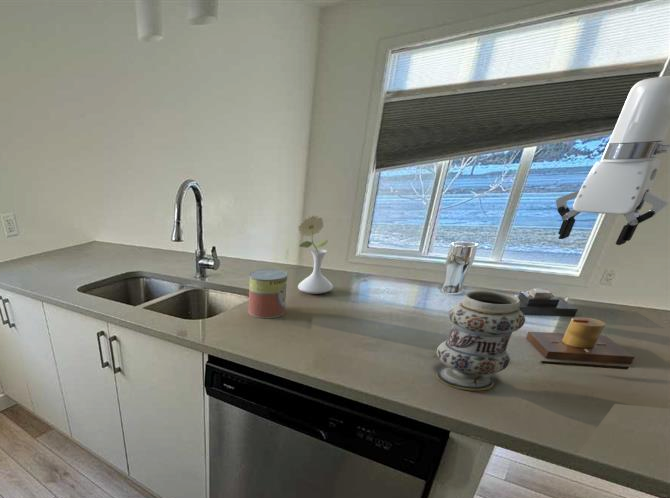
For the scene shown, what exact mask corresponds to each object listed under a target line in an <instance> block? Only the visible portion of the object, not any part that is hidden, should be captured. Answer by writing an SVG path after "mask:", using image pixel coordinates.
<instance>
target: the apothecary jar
mask: <svg viewBox="0 0 670 498" xmlns="http://www.w3.org/2000/svg"><path fill="white" fill-rule="evenodd" d="M515 296H516V295H512V294H509V293H503V292H499V291H491V290H474V291H473V290H472V291H469V292H467V293H466V294H465V295H464V298H463V300H462V301H460V302H458V303H456V304H455V305H453V306H452V307H451V308H450V310H449V311H448V318H449V320H450V322H452V326H451V329H450V332H449V335H448V337H447V339H446V340H445V341H443V342H441V343H440V344H439V345H438V347H437V348H436V356H437V358H438V359H439V361H440V362H441V363H442V364H443V365H444V366H446V367H443V368H440V369H439V370H438V371H436V375H435V376H436V378H437V379H438V380H439V381H440V382H441V383H443V384H444V385H447V386H449V387H452V388H455V389H458V390H462V391H463V390H464V391H470V392H481V391H482V392H483V391H487V390H490V389H492V388H493V387H494V384H495V383H494V380H493V379H492V378H491V376H489V375H493V374H497V373H499V372H502V371H503V370H505V369H506V368H507V367H508V366H509V365H510V363H511V356H510V354H509V352H508V351H507V347H508V344H509V342H510V339H511V337H512V334H513V333H514V332H516V331H519V330H520V329H521V328H522V327H523V326H524V325H525V323H526V317H525V316H526V315H524V314H523V313H522V312H521V311H520V307H519V306H520V300H519V299H518V298H517V297H515Z"/></svg>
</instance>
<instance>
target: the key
mask: <svg viewBox="0 0 670 498" xmlns="http://www.w3.org/2000/svg"><path fill="white" fill-rule="evenodd" d="M528 292H529V295H530V296H532V297H533V298H550V297H551V295H553V292H552V291H550V290H549V289H548V288H530V290H529V291H528Z"/></svg>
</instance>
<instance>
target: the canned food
mask: <svg viewBox="0 0 670 498" xmlns="http://www.w3.org/2000/svg"><path fill="white" fill-rule="evenodd" d="M288 276H289V274H288V272H287V271H285V270H281V269H275V268H274V269H271V268H270V269H269V268H267V269H266V268H265V269H259V270H255V271H252V272H250V273H249V283H248V284H249V285H248V286H249V288H248V292H249V293H248V311H247V312H248V315H250V316H252V317H253V318H258V319H275V318H279V317H282V316H283V315H285V313H286V298H287V287H288V284H287V283H288Z"/></svg>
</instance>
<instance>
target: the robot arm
mask: <svg viewBox="0 0 670 498" xmlns="http://www.w3.org/2000/svg"><path fill="white" fill-rule="evenodd" d="M669 129H670V75H665V76H664V75H662V76H657V77H649V78H644V79H641V80H639V81H638V82H636V83H635V84H634V85H633V86H632V87H631V88H630V91H629V93H628V95H627V98H626V100H625V102H624V105H623V107H622V109H621V111H620V114H619V117H618V118H617V121H616V123H615V127H614V129H613V131H612V132H611V133H612V134H611V136H610V138H609V140H608V143H607V144H606V147H605V150H604V152H603V155H602V157H601V159H600V160H597V161H595V163H594V165H593V166H592V168H591V169H590V171H589V172H588V174H587V176H586V178H585V179H584V181H583V183H582V185H581V187H580V189H579V190H576V191H574V192H571V193H568V194H565V195H563V196H560V197H558V198H556V199H555V203H556V208H557V213H558V214H559V215H560V217H561V220H562V223H561V225H560V227H559V230H558V233H557V234H558V235H559V236H558V239H559V240H563V239H566V238H569V237H570V235H571V232H572V230H573V227H574V226H575V223H576V218H575V217H576V216H578V215H580V214H581V213H584V214H585V213H586V214H601V215H602V214H603V215H620V216H621V215H622V216H624V217H625V219H626V221H627V223H626V224H623V227H622V228H621V231H620V233H619V235H618V237H617V240H616V241H615V245H617V246H622V245H624V244H626V243H627V242H629V241H630V240H632V238H633V236H634V234H635V232H636V229H637V228H638V226H639V224H641V223H643V222H645V221H647V220H649V219H651V218H653V217H655V216H656V215H657V214H659V213H660V212H662V210H663V209H665V208H666V207H667V206H669V203H670V202H669V201H668V200H666V199H663V198H662V197H660V196H659V195H657V194H655V193H653V192H651V191H652V187H653V185H654V182H655V180H656V177H657V174H658V171H659V166H660V163H661V162H660V161H661V159H659V158H658V159H657V158H656V157H658V155H661V154H666V153H669V151H670V144H666V143H664V142H665V141H664V140H665V138H666V135H667V133H668V132H669ZM570 200H574V202H573V204H572V209H570V208H569V207H568V206H567V202H568V201H570ZM646 203H649V204H650V205H652V208H650V210H648V211H647V212H645V213H643V214H641V213H640V210H642V209H643V208H644V206H645V204H646Z"/></svg>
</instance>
